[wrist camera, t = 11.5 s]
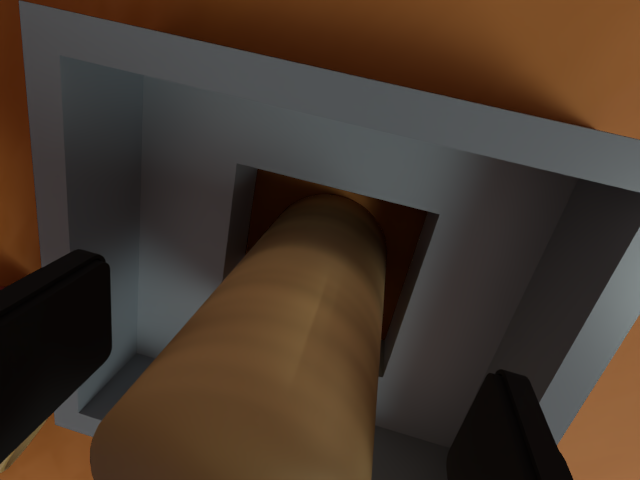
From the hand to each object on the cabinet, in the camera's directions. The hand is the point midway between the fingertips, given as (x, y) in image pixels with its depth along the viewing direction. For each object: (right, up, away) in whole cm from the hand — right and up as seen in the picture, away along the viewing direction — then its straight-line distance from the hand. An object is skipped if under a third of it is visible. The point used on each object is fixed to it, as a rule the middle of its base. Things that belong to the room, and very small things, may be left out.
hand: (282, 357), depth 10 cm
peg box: (+1, +2, +7) cm, 8 cm away
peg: (+1, +2, +7) cm, 8 cm away
